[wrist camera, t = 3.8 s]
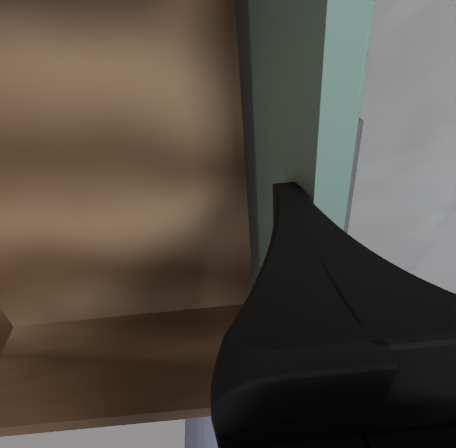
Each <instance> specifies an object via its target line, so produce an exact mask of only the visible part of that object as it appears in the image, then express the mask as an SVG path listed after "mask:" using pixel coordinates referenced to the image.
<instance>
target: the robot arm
mask: <svg viewBox="0 0 456 448" xmlns="http://www.w3.org/2000/svg"><path fill="white" fill-rule="evenodd" d="M210 404H211V416H209V417H199V418H188V419H186V425H185V428H186V429H185V448H456V294H454V293H452V292H449V291H447V290H444V289H442V288H440V287H438V286H435V285H433V284H431V283H429V282H427V281H425V280H422V279H420V278H418V277H416V276H414V275H412V274H410V273H408V272H407V271H405V270H403V269H401V268H399V267H397V266H396V265H394V264H392V263H390V262H388V261H387V260H385V259H383V258H382V257H380V256H378V255H377V254H375V253H374V252H372V251H371V250H369V249H368V248H366V247H365V246H363V245H362V244H360V243H359V242H357V241H356V240H355V239H353V238H352V237H351V236H349V235H348V234H347V233H346V232H345V231H343V230H342V229H341V228H340V227H338V226H337V225H336V224H335V223H334V222H333V221H332V220H331V219H329V218H328V217H327V216H326V215H325V214H324V213H323V212H322V211H321V210H320V209H319V208H318V207H317V206H316V205H315V204H314V203H313V202H312V201H311V200H310V199H309V198H308V197H307V196H306V195H305V192H304V191H303V189H302V187H301V186H300V185H298V184H297V183H295V182H285V183H275V184H273V231H272V236H271V240H270V244H269V247H268V250H267V254H266V257H265V259H264V262H263V265H262V267H261V270H260V272H259V275H258V277H257V279H256V282H255V284H254V286H253V288H252V290H251V292H250V294H249V295H248V297H247V299H246V301H245V303H244V305H243V307H242V308H241V310H240V312H239V313H238V315H237V316H236V318H235V319H234V321H233V322H232V324H231V325H230V327H229V328H228V330H227V331H226V333H225V334H224V336H223V340H222V343H221V346H220V349H219V353H218V356H217V360H216V363H215V367H214V371H213V376H212V381H211V390H210Z"/></svg>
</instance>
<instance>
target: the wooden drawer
mask: <svg viewBox="0 0 456 448" xmlns="http://www.w3.org/2000/svg"><path fill="white" fill-rule="evenodd" d="M252 288H253V280H252V263H251V247H250V231H249V215H248V199H247V182H246V166H245V150H244V134H243V117H242V101H241V85H240V69H239V52H238V36H237V20H236V4H235V0H0V437H2V436H12V435H23V434H33V433H43V432H54V431H64V430H74V429H84V428H94V427H104V426H105V427H106V426H116V425H126V424H136V423H146V422H157V421H168V420H177V419H188V418H199V417H209V416H211V404H210V390H211V381H212V376H213V371H214V367H215V363H216V360H217V356H218V353H219V349H220V346H221V343H222V340H223V336H224V334H225V333H226V331H227V330H228V328H229V327H230V325H231V324H232V322H233V321H234V319H235V318H236V316H237V315H238V313H239V312H240V310H241V308H242V307H243V305H244V303H245V301H246V299H247V297H248V295H249V294H250V292H251V290H252Z"/></svg>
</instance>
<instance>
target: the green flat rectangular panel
mask: <svg viewBox="0 0 456 448" xmlns="http://www.w3.org/2000/svg"><path fill="white" fill-rule="evenodd" d="M374 2H375V0H249V21H250V44H251V67H252V91H253V114H254V137H255V161H256V184H257V207H258V231H259V254H260V270H261V267H262V265H263V262H264V259H265V257H266V254H267V250H268V247H269V244H270V240H271V236H272V231H273V184H275V183H285V182H295V183H297V184H298V185H300V186H301V187H302V189H303V191H304V192H305V195H306V196H307V197H308V198H309V199H310V200H311V201H312V202H313V203H314V204H315V205H316V206H317V207H318V208H319V209H320V210H321V211H322V212H323V213H324V214H325V215H326V216H327V217H328V218H329V219H331V220H332V221H333V222H334V223H335V224H336V225H337V226H338V227H340V228H341V229H342V230H343V231H345V232H346V233H347V231H348V224H349V217H350V210H351V203H352V196H353V189H354V182H355V175H356V168H357V161H358V154H359V147H360V140H361V133H362V126H363V120H361V119H360V118H359V114H360V106H361V99H362V91H363V84H364V77H365V69H366V62H367V54H368V47H369V39H370V32H371V25H372V17H373V10H374Z"/></svg>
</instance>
